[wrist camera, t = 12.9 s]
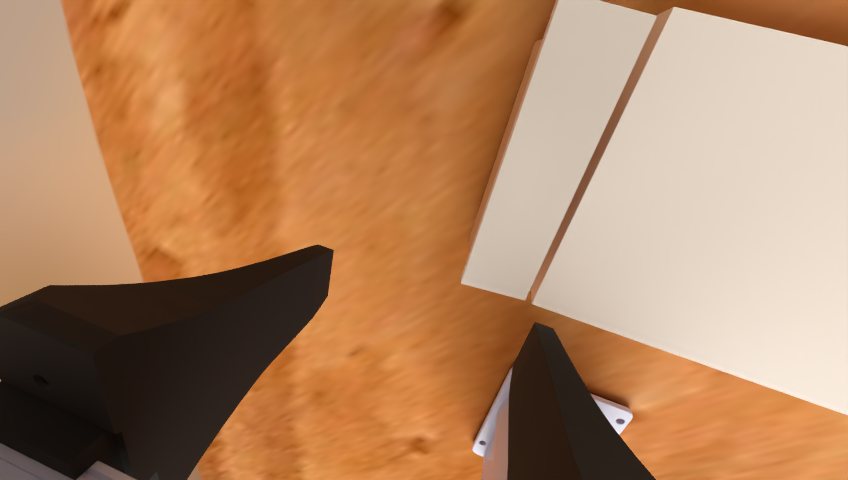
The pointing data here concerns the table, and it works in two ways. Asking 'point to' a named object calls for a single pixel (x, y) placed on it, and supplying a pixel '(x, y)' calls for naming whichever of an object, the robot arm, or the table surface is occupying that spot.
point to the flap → (551, 139)
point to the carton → (719, 208)
